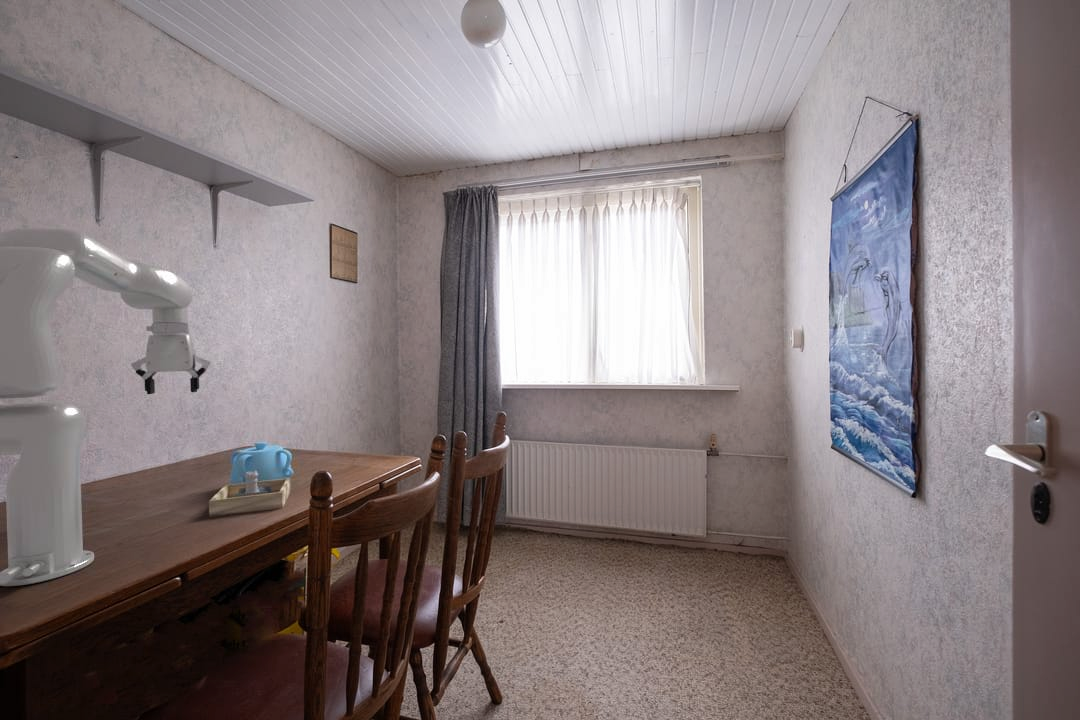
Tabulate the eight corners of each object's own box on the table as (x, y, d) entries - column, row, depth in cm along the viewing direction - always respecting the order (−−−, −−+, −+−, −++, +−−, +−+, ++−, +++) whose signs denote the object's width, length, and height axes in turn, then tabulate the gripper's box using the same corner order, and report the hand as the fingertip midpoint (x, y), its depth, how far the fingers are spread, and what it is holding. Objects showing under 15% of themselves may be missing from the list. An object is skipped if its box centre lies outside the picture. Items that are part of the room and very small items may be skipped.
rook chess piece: (265, 499, 126) (265, 470, 126) (251, 504, 122) (251, 474, 122) (252, 498, 127) (251, 469, 127) (238, 503, 123) (237, 473, 123)
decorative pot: (229, 485, 144) (227, 442, 144) (287, 476, 153) (286, 435, 153) (231, 497, 131) (229, 450, 130) (295, 487, 140) (293, 442, 140)
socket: (266, 503, 122) (266, 491, 122) (233, 507, 120) (232, 495, 120) (271, 495, 130) (271, 484, 129) (240, 499, 127) (239, 488, 127)
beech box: (282, 507, 120) (282, 492, 120) (209, 517, 114) (208, 501, 114) (290, 491, 135) (290, 478, 135) (226, 499, 129) (225, 484, 129)
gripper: (124, 329, 119) (126, 395, 119) (204, 329, 126) (206, 392, 126) (137, 331, 126) (139, 393, 126) (212, 331, 133) (214, 390, 133)
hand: (172, 392), depth 126 cm, fingers open, 9 cm apart
